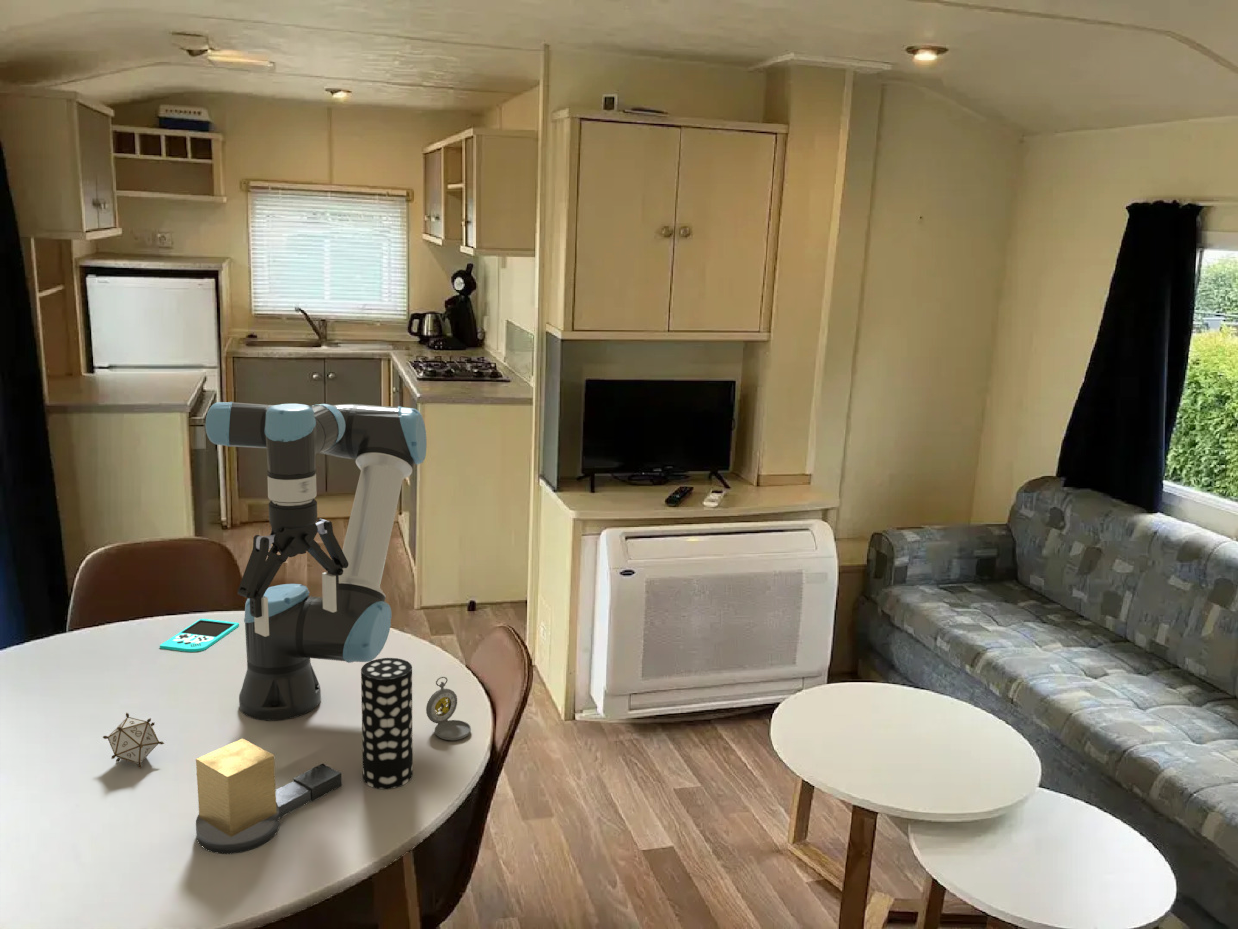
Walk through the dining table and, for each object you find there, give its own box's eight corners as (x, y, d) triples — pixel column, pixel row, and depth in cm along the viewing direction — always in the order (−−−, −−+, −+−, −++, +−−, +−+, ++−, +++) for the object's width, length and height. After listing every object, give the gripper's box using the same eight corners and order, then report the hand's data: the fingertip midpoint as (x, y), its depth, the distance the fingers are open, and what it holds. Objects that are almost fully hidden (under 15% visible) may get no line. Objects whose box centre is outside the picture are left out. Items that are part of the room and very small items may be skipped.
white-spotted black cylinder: (388, 794, 165) (386, 684, 160) (352, 778, 169) (350, 670, 165) (422, 773, 172) (422, 666, 167) (387, 758, 176) (386, 653, 172)
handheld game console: (158, 650, 216) (157, 644, 216) (200, 622, 232) (200, 617, 231) (200, 655, 215) (200, 649, 214) (240, 627, 230) (240, 621, 230)
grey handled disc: (309, 769, 172) (307, 724, 170) (355, 793, 165) (354, 747, 163) (180, 833, 152) (177, 783, 150) (227, 864, 146) (224, 812, 144)
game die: (149, 777, 174) (183, 733, 173) (111, 784, 166) (147, 739, 165) (120, 741, 177) (154, 698, 176) (82, 746, 169) (117, 702, 168)
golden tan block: (199, 817, 152) (195, 759, 150) (245, 795, 159) (242, 738, 156) (230, 837, 148) (227, 777, 146) (276, 813, 154) (274, 755, 152)
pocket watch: (463, 744, 182) (463, 694, 180) (420, 738, 184) (420, 688, 181) (478, 723, 190) (479, 675, 188) (436, 717, 191) (436, 669, 189)
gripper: (239, 520, 150) (245, 651, 154) (367, 489, 170) (369, 606, 174) (209, 510, 154) (216, 638, 159) (338, 481, 174) (341, 595, 179)
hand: (297, 621), depth 167 cm, fingers open, 13 cm apart
